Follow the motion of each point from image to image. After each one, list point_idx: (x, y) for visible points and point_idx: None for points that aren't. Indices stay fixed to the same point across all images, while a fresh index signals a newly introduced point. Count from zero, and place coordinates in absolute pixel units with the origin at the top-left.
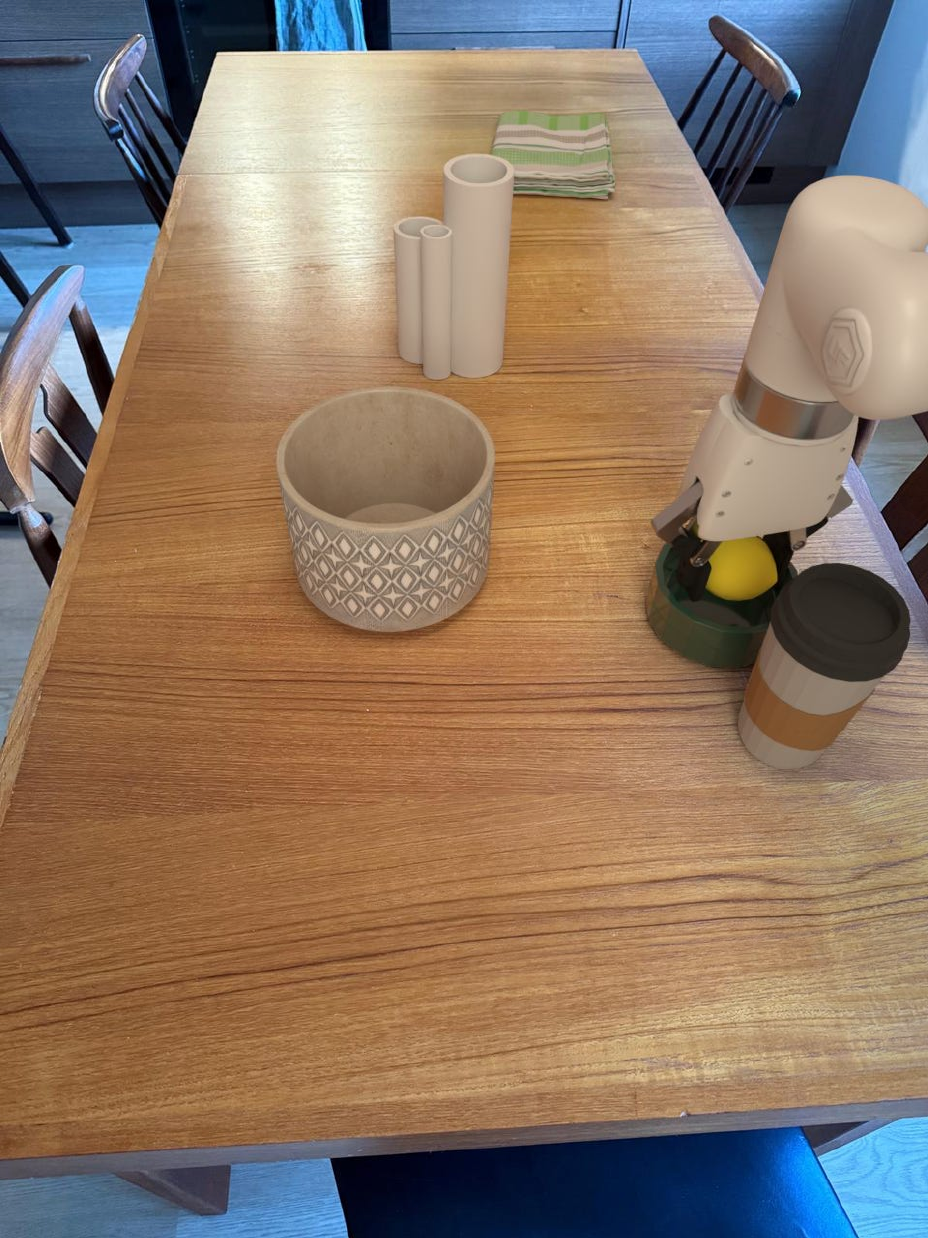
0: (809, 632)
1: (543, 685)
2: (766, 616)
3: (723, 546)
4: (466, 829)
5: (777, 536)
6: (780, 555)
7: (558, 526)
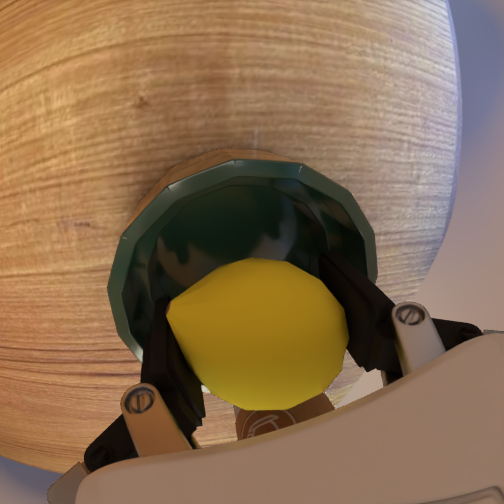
0: None
1: (43, 351)
2: (309, 259)
3: (239, 397)
4: (49, 426)
5: (376, 345)
6: (358, 361)
7: (14, 86)
